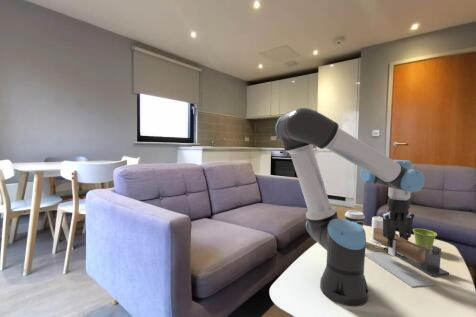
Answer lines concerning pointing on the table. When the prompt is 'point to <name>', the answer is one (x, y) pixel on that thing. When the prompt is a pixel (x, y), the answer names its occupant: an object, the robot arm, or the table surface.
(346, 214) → the coffee cup
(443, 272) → the stand
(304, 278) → the table surface
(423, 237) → the plant pot
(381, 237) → the rail
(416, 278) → the mat
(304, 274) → the table surface
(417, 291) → the table surface
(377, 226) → the mug
